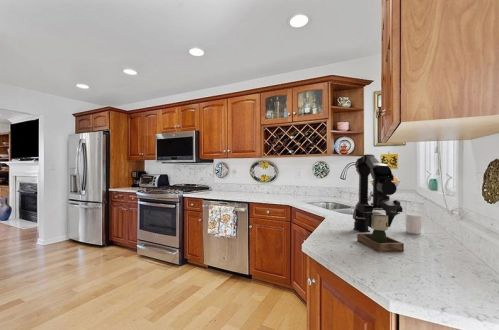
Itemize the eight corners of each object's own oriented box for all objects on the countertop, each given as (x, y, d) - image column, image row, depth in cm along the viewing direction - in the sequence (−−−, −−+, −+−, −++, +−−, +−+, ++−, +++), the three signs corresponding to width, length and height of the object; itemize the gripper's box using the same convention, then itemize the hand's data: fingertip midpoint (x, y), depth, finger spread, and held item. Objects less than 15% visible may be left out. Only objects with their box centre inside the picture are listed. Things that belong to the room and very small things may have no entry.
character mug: (390, 248, 105) (390, 217, 105) (372, 246, 107) (372, 216, 107) (385, 241, 115) (385, 213, 115) (368, 240, 117) (368, 212, 118)
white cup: (401, 230, 139) (401, 213, 139) (412, 230, 141) (413, 213, 141) (413, 234, 132) (414, 216, 132) (425, 234, 134) (425, 215, 134)
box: (379, 240, 119) (379, 233, 119) (403, 251, 104) (403, 243, 104) (357, 240, 118) (357, 233, 118) (378, 252, 102) (378, 243, 102)
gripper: (372, 194, 102) (371, 232, 102) (412, 194, 104) (411, 231, 104) (357, 191, 113) (356, 225, 113) (393, 192, 115) (393, 225, 115)
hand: (379, 227), depth 111 cm, fingers open, 9 cm apart
